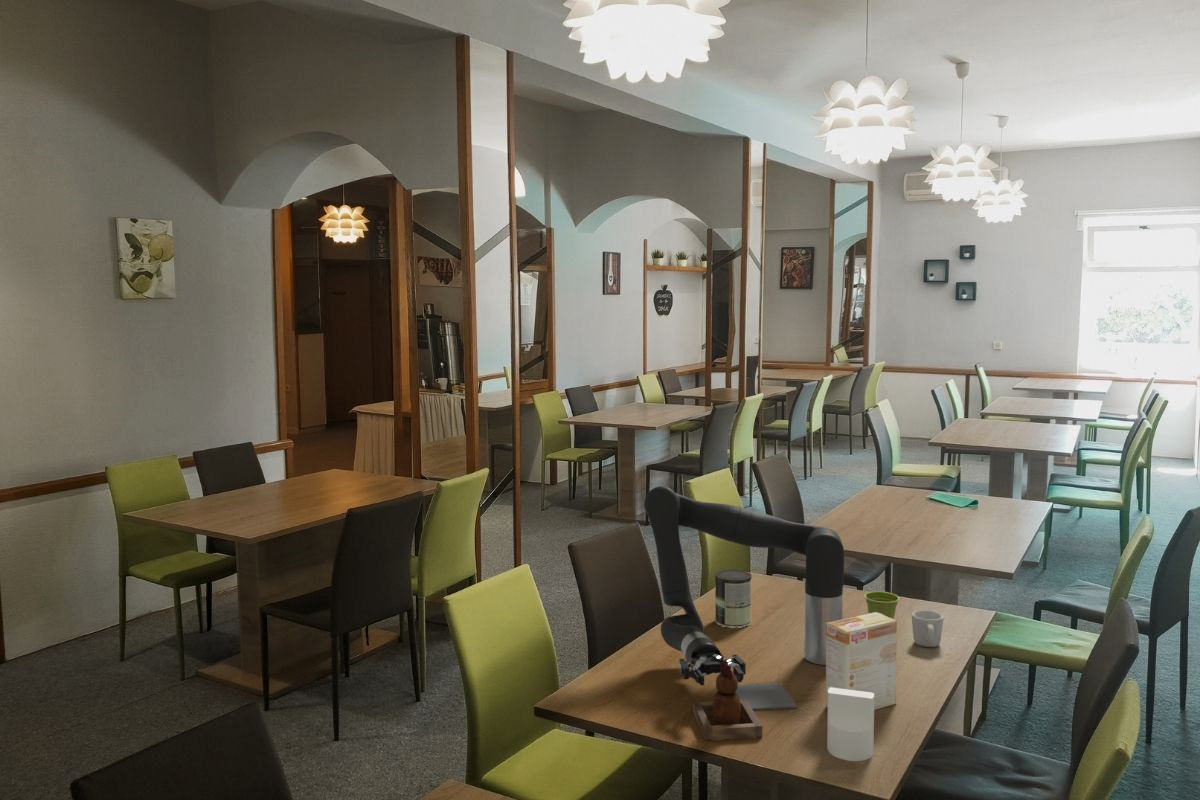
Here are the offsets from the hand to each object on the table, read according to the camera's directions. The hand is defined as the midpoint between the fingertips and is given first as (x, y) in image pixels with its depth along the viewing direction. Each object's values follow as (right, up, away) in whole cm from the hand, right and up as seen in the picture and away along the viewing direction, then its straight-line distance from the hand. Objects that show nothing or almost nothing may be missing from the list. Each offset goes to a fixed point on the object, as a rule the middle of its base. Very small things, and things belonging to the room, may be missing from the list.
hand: (721, 679), depth 198 cm
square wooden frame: (+1, -9, -2) cm, 10 cm away
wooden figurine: (+1, -10, -2) cm, 10 cm away
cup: (+60, -4, +43) cm, 74 cm away
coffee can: (+12, -3, +63) cm, 64 cm away
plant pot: (+52, -3, +58) cm, 78 cm away
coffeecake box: (+32, -8, +7) cm, 34 cm away
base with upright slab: (+24, -10, -14) cm, 29 cm away
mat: (+11, -8, +12) cm, 18 cm away
